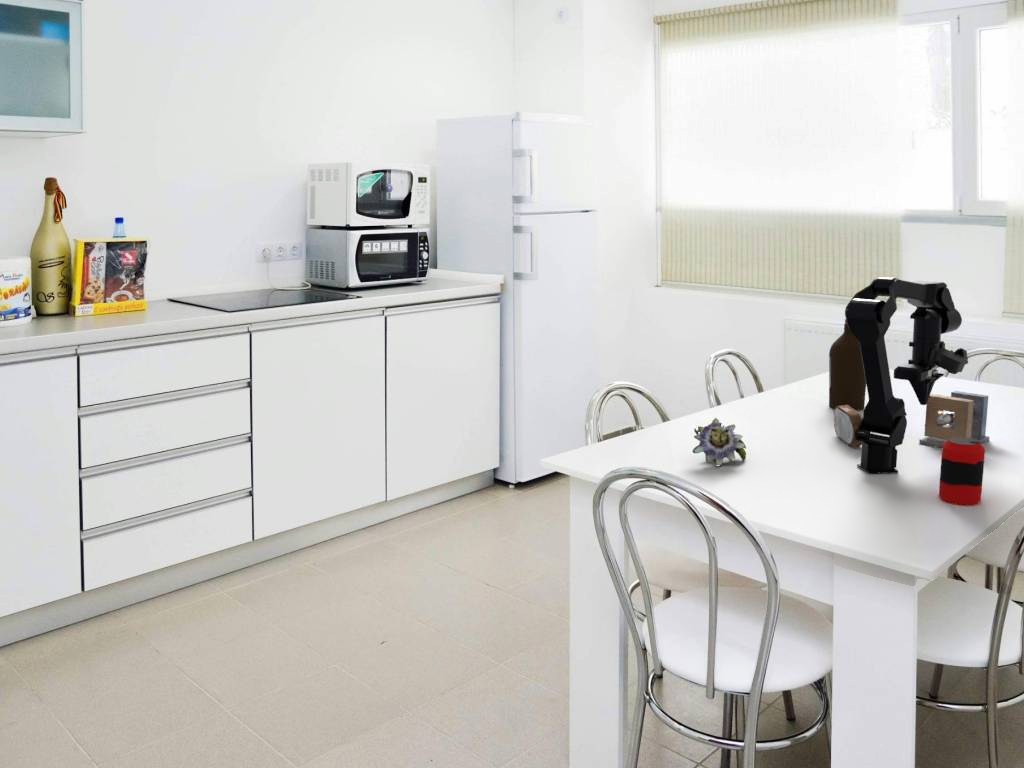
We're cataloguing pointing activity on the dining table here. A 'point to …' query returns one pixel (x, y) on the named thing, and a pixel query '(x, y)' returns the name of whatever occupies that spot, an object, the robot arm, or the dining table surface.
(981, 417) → the stand
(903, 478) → the dining table surface
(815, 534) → the dining table surface
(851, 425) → the tin
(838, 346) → the olive oil
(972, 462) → the soda can
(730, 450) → the passion flower
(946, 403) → the wooden block on rod
